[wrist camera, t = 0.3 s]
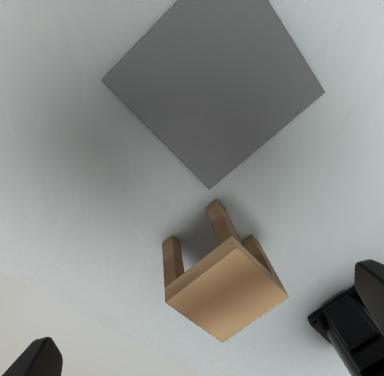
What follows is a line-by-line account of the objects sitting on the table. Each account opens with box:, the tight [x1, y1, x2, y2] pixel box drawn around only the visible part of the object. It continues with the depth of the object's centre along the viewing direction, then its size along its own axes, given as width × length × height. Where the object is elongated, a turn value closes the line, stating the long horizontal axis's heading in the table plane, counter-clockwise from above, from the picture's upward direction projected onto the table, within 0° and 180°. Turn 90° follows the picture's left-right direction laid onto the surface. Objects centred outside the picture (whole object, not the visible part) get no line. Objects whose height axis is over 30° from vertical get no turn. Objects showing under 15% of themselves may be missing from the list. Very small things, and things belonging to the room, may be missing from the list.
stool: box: [162, 199, 289, 343], centre depth 21 cm, size 6×6×6 cm
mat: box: [101, 0, 325, 189], centre depth 19 cm, size 10×10×1 cm
